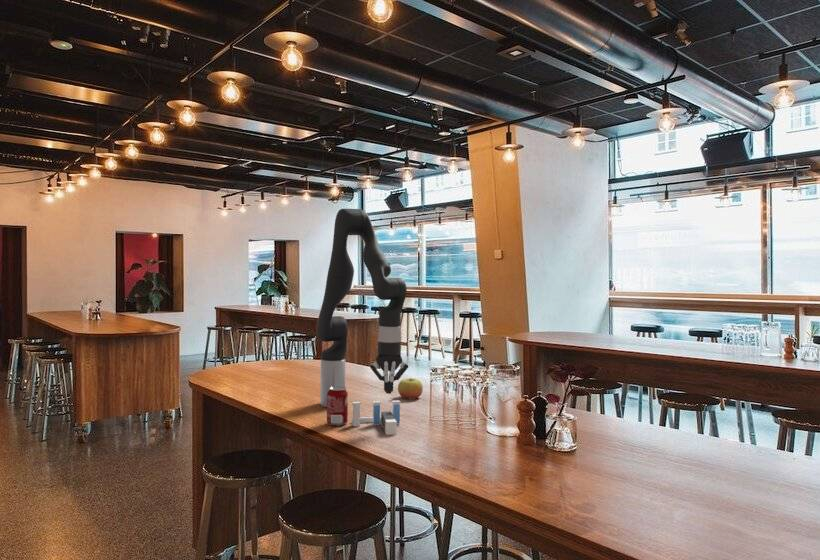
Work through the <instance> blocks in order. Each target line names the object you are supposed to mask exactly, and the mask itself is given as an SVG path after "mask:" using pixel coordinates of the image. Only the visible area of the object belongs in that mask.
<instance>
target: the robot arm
mask: <svg viewBox="0 0 820 560" xmlns="http://www.w3.org/2000/svg"><path fill="white" fill-rule="evenodd" d="M349 236H360V237H361V239H362V240H363V242H364V243H363V244H364V247H363V251H362V259H363V263H364V265H365V267H366V269H367V271H368V273H369V274H370V279H371V283H372V288H373V292H374V295H375V296H376V297H377V298H378V299H379V300H382V301H385V300H386V301H389V303H388V305H387V306H383V307H382V308H380V309H379V313H378V330H377V356H376V358H375V361H374V362H373V363H370V364H369V367H370V369H371V371H372V372H373V373H374V374H375V376H376V377H377V378H378V379H379V381H382V382H383V390H384V392H385V394H392V393H393V391H394V382H396V381H399V379H401V377H403V374H405V372H406V371H407V370H408V368H409V365H408V364H407V363H405V362H404V361H403V358H402V329H401V328H402V327H401V325H402V322H401V321H402V311H403V309H404V308H403V307H404V303H405V301H406V297H407V291H408V290H407V284H406V282H405V280H404V279H402V278H401V277H389V276H390V274H391V273H392V269H391V264H389V262H388V260H387V259H386V257H385V255H384V253H383V251H382V249H381V247H380V245H379V244H380V243H379V242H378V239H377V235H376V232H375V229H374V227H373V224H372V221H371V218H370V217H369V214H368V213H367V211H366V210H363V209H359V208H340V209H339V210H338V212H337V213H336V216H335V220H334V227H333V241H332V248H331V249H332V250H331V256H330V261H329V267H328V270H327V276H326V283H325V289H324V296H323V299H322V305H321V306H320V307H321V308H320V311H319V315H318V318H317V322H316V327H315V328H316V331H315V333H316V337H317V340H318V341H319V342H327V343H328V342H333V343H332V345H331V346H329V347H327V348H326V349H323V350H322V351H321V352H320V406H322V407H324V408H327V393H328V391H329V388H330V387H333V386H343V387H346V355H347V346H348V345H347V344H348V329H349V328H348V327H349V326H348V322H347V319H346V318H345V317H344V316H342V315H339V316H337V315H336V316H335V315H334V313H335V311H336V309H337V306H338V305H339V304H340V303H341V302H342V301H343V299H344V298H345V297H346V296H347V294H348V293H349V292H350V290H351V288H352V285H353V280H354V274H355V268H354V265H353V262H352V260H351V258H350V256H349V253H348V250H347V249H348V248H347V245H348V244H347V243H348V237H349ZM333 315H334V316H333ZM378 366H379V368H380V369H381V371H382V373H383V375H381V373H380V372H379V371H378ZM398 368H399V370H398ZM397 370H398V371H397ZM396 371H397V372H396ZM395 372H396V373H395Z"/></svg>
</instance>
